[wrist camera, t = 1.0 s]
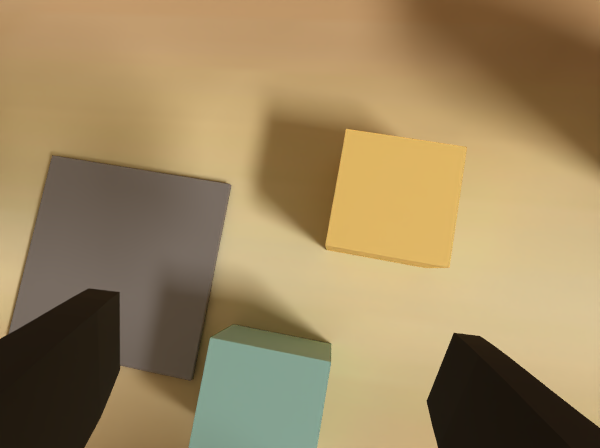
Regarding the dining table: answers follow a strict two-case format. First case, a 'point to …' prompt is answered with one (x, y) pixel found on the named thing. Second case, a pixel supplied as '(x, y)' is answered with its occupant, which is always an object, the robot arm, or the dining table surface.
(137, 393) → the dining table surface
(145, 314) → the mat
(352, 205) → the mustard brick
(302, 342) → the teal brick
